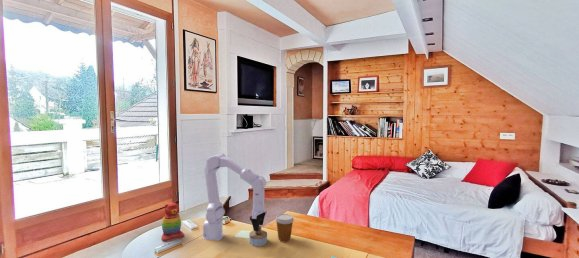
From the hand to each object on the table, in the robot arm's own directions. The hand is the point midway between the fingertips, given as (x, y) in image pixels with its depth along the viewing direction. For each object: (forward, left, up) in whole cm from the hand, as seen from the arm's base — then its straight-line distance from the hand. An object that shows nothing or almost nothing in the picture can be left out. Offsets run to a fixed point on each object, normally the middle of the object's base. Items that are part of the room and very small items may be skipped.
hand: (258, 227), depth 138 cm
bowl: (0, 0, -8) cm, 8 cm away
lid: (0, 0, -4) cm, 4 cm away
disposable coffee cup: (+12, +7, -8) cm, 16 cm away
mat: (-9, +7, -8) cm, 14 cm away
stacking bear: (-47, -3, -8) cm, 48 cm away
